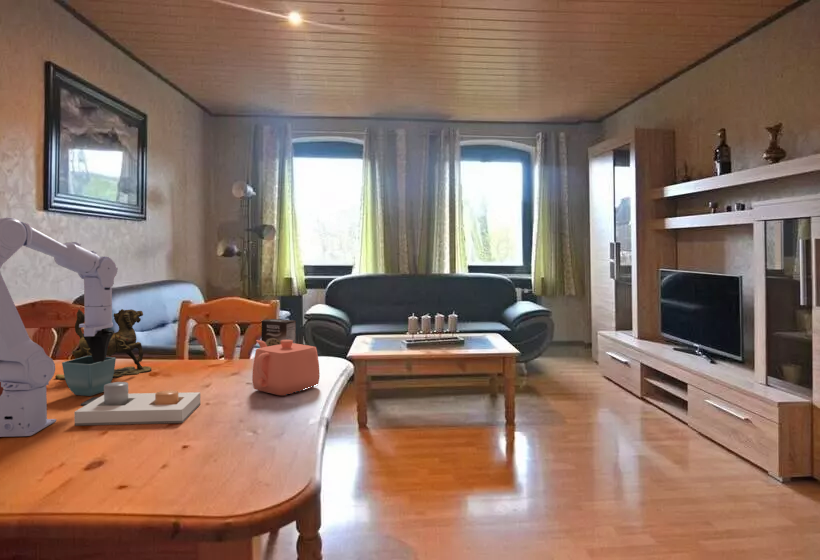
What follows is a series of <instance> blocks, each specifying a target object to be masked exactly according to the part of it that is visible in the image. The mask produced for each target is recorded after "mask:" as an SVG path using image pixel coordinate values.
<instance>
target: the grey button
mask: <svg viewBox="0 0 820 560" xmlns="http://www.w3.org/2000/svg"><path fill="white" fill-rule="evenodd" d="M128 394H129V382H125V381H116V382H111V383H108V384H105V385H104V392H103V395H104V404H106V405H117V404H123V403H126V402H128Z"/></svg>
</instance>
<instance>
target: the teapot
mask: <svg viewBox="0 0 820 560" xmlns="http://www.w3.org/2000/svg"><path fill="white" fill-rule="evenodd" d="M255 342H257V344H258V345H259V348H258V347H257V348H256V349H255V353H254V358H253V366H252V376H251V378H252V379H251V380H252V386H253V389H254V390H255V391H256V390H257V391H260V392H264V393H267V394H268V393H269V394H272V395H277V396H287V395H286V394H290V393H291V394H294V393H293V392H295V393H297V392H296V391H299V392H301V391H300V390H303V389H305V388H308V387H311V386H314V385H316V384H318V385H319V383H320V375H321V373H320V361H319V355H318V350H317V346H313V345H308V344H300V343H296V342H295V343H293V340H281V341H280V342H281V344H280V345H273V346H268V347H267V345H266V343H265V342H264V341H262V339H256V340H255ZM303 391H304V390H303ZM291 394H290V395H291Z"/></svg>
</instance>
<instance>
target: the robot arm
mask: <svg viewBox="0 0 820 560" xmlns="http://www.w3.org/2000/svg"><path fill="white" fill-rule="evenodd" d="M81 245H82V243H79V242H78V241H71V242H64V243H62V242H60V241H58V240H56V239H54V238H52V237H51V236H49V235H46V234H45V233H43V232H41V231H39V230H38V229H35V228H33V227H32V226H31V225H30V224H29V223H27V222H23V221H20V220H19V219H17V218H15V217H8V216H7V217H1V218H0V269H1V268H2V266H3V264H5V263H6V262H7V261H8V260H10V258H11V257H13V255H15V253H17V251H19V249H20V248H22V247H23V246H24V247H26V248H29V249H32V250H34V251H37V252H38V253H39V252H40V253H41V254H42V253H43V254H45V255H48V256H51V258H52V257H53V259H54V262H55V264H56V265H58V266H60V267H62V268H65V269H68V271H69V270H70V271H72V272H74V273H77V275H78V277H79V278H81V280H83V292H84V293H83V295H84V296H83V298H84V300H83V301H84V302H83V303H84V306H83V307H84V314H85V322H84V323H83V324H79V327H81V328H83V337H84V339H85V340H86V342H87V343H88V345H89V348H90V351H91V354H92V358H93V361H94V362H103V361H105V358H106V357H107V355H106V354H107V349H108V345H109V342H110V340H111V337H112V336H113V334H114V333H115V331H114V330H107V329H109V328H113V327H114V322H113V293H112V292H113V290H112V289H113V288H112V287H114V286H113V285H115V283H114V282H115V278H116V276H117V274H118V267H117V265H116V263H115V261H114V260H113V259H112V258H111V257H109V256H99V254H97V253H98V252H97V251H94V250H89V249H87V248H85V247H82V246H81ZM55 372H56V363H55V362H54V360H53V358H51V357H50V356H49V355H48V354H47V353H46V352H45V350H44V347H42V346H41V345H39V344H38V343H37V342H34V341H33V340H32V339H31V338H30V336H29V334H28V332H27V329H26V326H25V324H24V322H23V320H22V318H21V315H20V313H19V311H18V309H17V307H16V305H15V302H14V300H13V298H12V296H11V293H10V291H9V289H8V286H7V285H6V282H5V280H4V278H3V276H2V273H1V272H0V388H2V389H3V390H2V393H1V394H0V438H2V437H4V438H5V437H31V436H33V435H36V434H37V433H38V432H40V431H42V430H44V429H45V428H47V427H48V426H50V425H52V424H54V423H56V422H57V418H48V412H47V411H48V408H47V407H48V406H47V386H49V385H50V384H49V383H50V381H51V380H52V379H53V377H54V375H55Z"/></svg>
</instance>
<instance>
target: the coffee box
mask: <svg viewBox="0 0 820 560" xmlns="http://www.w3.org/2000/svg"><path fill="white" fill-rule="evenodd" d="M296 327H297V325H296V320H293V319H291V320H290V319H280V318H279V319H277V318H270V319H264V320H261V340H262V341H264V342H265V343H266V345H267V347H268V346H273V345H280V344H281V342H280V341H281V340H293V343H295V344H296V331H297V330H296Z"/></svg>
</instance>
